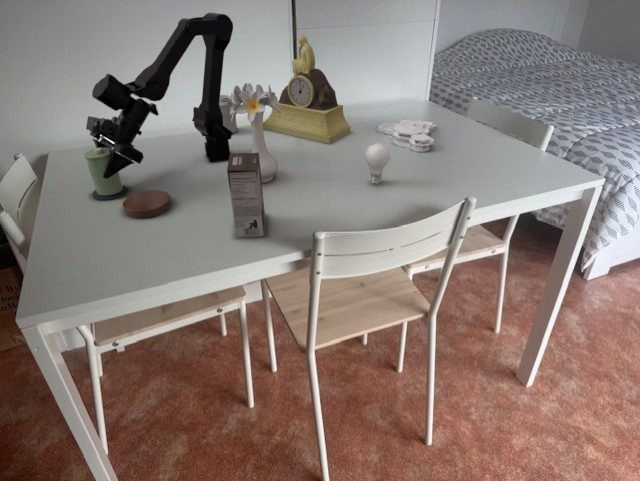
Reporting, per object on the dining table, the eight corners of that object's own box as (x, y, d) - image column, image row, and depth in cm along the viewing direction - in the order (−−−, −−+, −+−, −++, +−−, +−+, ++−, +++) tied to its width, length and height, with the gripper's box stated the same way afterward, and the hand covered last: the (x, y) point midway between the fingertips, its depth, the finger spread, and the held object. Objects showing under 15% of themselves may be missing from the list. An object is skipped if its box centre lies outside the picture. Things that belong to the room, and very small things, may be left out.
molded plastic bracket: (454, 130, 154) (456, 117, 151) (427, 154, 136) (428, 140, 134) (392, 120, 164) (393, 107, 162) (360, 141, 146) (360, 127, 144)
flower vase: (269, 161, 133) (262, 73, 120) (294, 185, 119) (290, 89, 106) (227, 170, 128) (214, 79, 115) (248, 196, 115) (236, 96, 101)
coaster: (127, 183, 122) (127, 182, 122) (127, 197, 115) (127, 195, 115) (93, 188, 120) (93, 187, 119) (91, 202, 113) (91, 201, 113)
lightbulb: (372, 190, 116) (374, 150, 110) (359, 181, 121) (360, 142, 115) (392, 185, 119) (395, 145, 113) (379, 176, 123) (381, 138, 117)
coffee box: (238, 217, 105) (229, 152, 97) (265, 216, 106) (259, 151, 97) (235, 238, 98) (225, 169, 89) (264, 236, 98) (258, 168, 89)
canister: (128, 184, 120) (117, 144, 113) (116, 196, 114) (103, 154, 108) (104, 184, 120) (92, 143, 114) (91, 195, 115) (77, 154, 108)
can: (232, 136, 152) (228, 100, 146) (212, 135, 153) (206, 99, 147) (240, 129, 158) (236, 94, 152) (220, 127, 160) (215, 93, 153)
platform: (169, 194, 116) (168, 187, 115) (173, 213, 108) (171, 206, 106) (124, 201, 113) (122, 194, 112) (124, 222, 104) (122, 214, 103)
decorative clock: (262, 128, 158) (255, 35, 142) (285, 118, 167) (280, 30, 151) (329, 144, 145) (329, 43, 128) (350, 132, 154) (352, 37, 137)
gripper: (86, 95, 113) (55, 149, 113) (118, 110, 102) (83, 170, 101) (125, 119, 122) (96, 168, 122) (157, 135, 111) (125, 190, 110)
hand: (99, 174), depth 114 cm, fingers closed on canister, 6 cm apart
